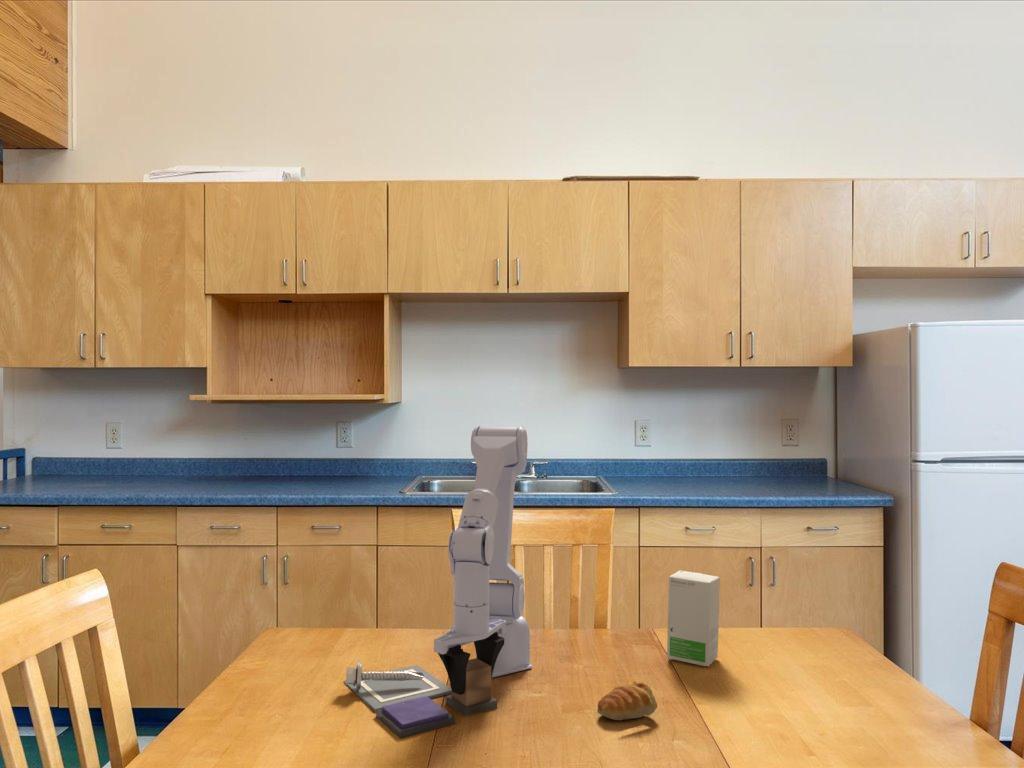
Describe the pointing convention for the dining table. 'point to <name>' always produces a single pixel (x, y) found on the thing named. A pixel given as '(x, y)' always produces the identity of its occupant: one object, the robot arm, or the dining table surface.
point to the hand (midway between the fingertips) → (471, 687)
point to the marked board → (400, 689)
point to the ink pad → (414, 716)
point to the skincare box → (693, 617)
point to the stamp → (474, 690)
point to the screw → (378, 676)
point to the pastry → (628, 702)
